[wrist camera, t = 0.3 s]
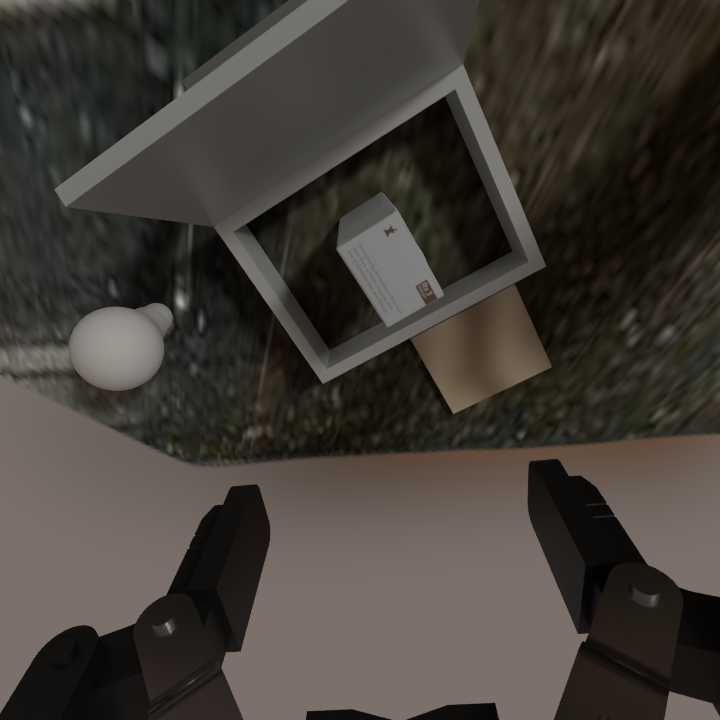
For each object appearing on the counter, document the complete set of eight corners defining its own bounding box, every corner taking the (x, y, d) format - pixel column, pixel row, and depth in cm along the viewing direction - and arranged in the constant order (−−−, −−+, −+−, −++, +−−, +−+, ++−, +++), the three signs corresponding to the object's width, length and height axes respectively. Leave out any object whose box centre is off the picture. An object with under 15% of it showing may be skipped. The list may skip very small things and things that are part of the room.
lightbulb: (206, 298, 39) (153, 348, 29) (185, 355, 42) (129, 419, 32) (137, 267, 38) (58, 307, 28) (119, 327, 40) (40, 384, 30)
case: (451, 74, 32) (462, 64, 29) (528, 255, 38) (546, 266, 34) (228, 219, 37) (213, 226, 33) (326, 363, 42) (322, 383, 38)
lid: (462, 64, 29) (452, 43, 28) (509, -118, 15) (490, -162, 14) (213, 226, 33) (203, 209, 33) (65, 206, 19) (45, 176, 19)
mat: (512, 282, 39) (515, 284, 38) (549, 364, 42) (552, 367, 41) (409, 336, 41) (410, 339, 40) (452, 410, 44) (453, 413, 43)
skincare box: (337, 219, 37) (326, 247, 26) (384, 188, 36) (395, 203, 25) (376, 282, 39) (382, 333, 28) (421, 255, 38) (446, 296, 27)
